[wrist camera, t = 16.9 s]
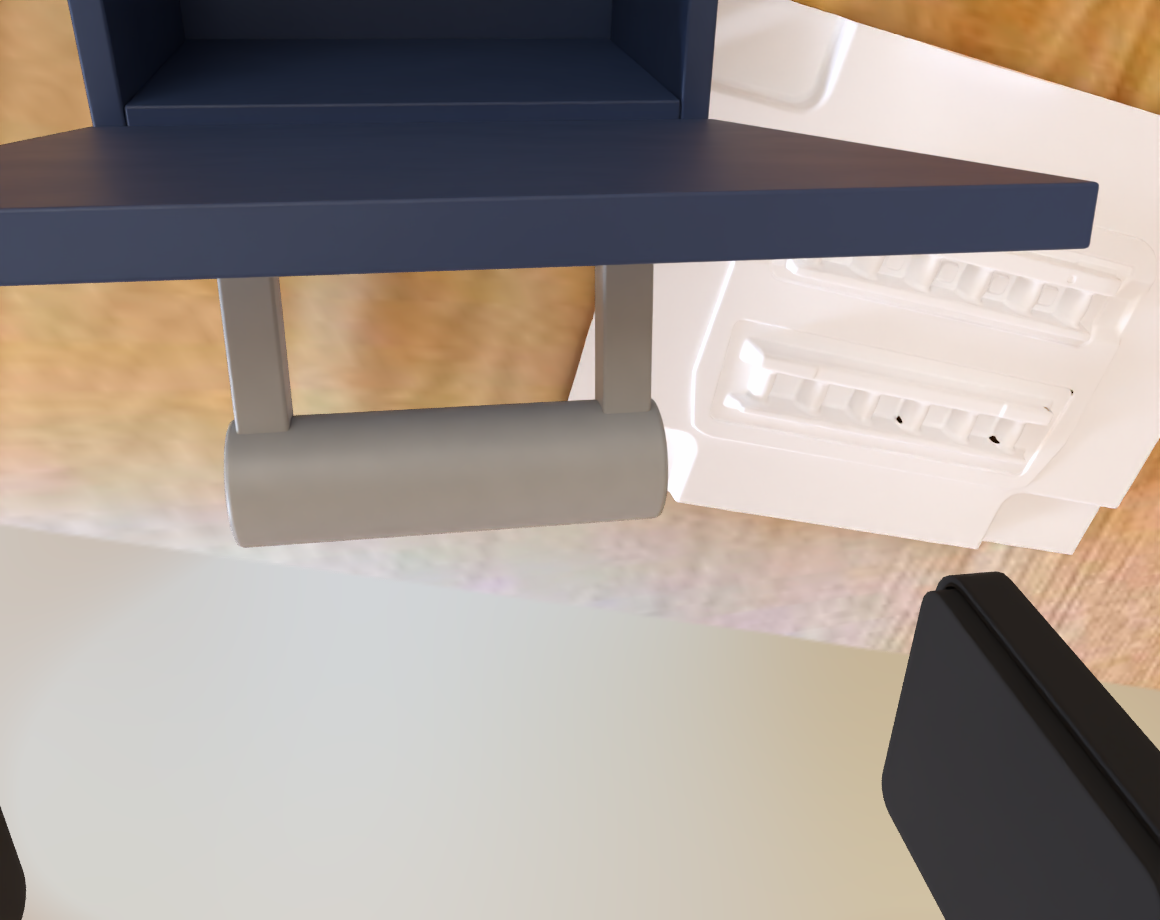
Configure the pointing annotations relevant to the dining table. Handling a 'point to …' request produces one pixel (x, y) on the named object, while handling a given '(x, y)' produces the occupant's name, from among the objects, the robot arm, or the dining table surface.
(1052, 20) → the dining table surface
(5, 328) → the dining table surface
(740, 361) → the tray
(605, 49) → the navy storage box
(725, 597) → the dining table surface
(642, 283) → the navy door with handle
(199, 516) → the dining table surface
